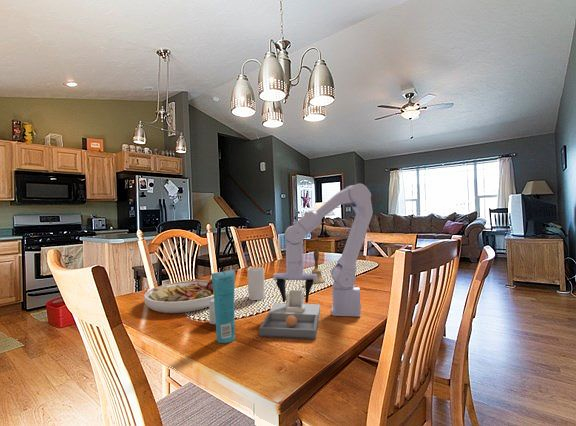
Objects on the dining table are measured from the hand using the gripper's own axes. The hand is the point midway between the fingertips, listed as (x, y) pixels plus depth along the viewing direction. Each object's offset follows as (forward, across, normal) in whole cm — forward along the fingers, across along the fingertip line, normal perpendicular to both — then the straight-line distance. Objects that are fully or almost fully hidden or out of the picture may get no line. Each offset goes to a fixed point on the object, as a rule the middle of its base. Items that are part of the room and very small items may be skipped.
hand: (295, 301), depth 102 cm
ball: (+2, 0, +11) cm, 11 cm away
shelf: (+5, 0, +1) cm, 5 cm away
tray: (+5, 0, +12) cm, 13 cm away
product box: (+5, +23, +8) cm, 25 cm away
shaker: (+2, 0, 0) cm, 2 cm away
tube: (+5, +17, +21) cm, 27 cm away
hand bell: (+5, -4, -46) cm, 46 cm away
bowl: (+5, +45, -10) cm, 46 cm away
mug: (+5, +19, -18) cm, 27 cm away
